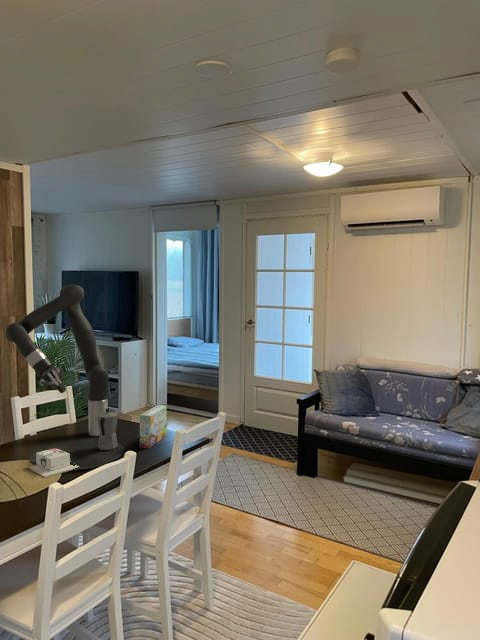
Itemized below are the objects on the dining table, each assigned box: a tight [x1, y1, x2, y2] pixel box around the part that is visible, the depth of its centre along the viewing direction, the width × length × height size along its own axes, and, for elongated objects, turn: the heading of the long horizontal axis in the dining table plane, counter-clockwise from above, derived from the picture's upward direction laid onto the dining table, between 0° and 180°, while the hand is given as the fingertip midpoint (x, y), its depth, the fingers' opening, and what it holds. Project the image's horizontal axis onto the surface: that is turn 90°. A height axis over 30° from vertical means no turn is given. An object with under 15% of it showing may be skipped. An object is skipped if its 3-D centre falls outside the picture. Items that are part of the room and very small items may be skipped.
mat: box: [29, 464, 80, 478], centre depth 186 cm, size 14×14×1 cm
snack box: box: [139, 404, 168, 449], centre depth 220 cm, size 21×6×15 cm, turn 168°
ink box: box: [35, 447, 71, 471], centre depth 187 cm, size 8×5×12 cm
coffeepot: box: [97, 408, 119, 449], centre depth 209 cm, size 15×9×18 cm, turn 179°
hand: (64, 391), depth 207 cm, fingers closed
